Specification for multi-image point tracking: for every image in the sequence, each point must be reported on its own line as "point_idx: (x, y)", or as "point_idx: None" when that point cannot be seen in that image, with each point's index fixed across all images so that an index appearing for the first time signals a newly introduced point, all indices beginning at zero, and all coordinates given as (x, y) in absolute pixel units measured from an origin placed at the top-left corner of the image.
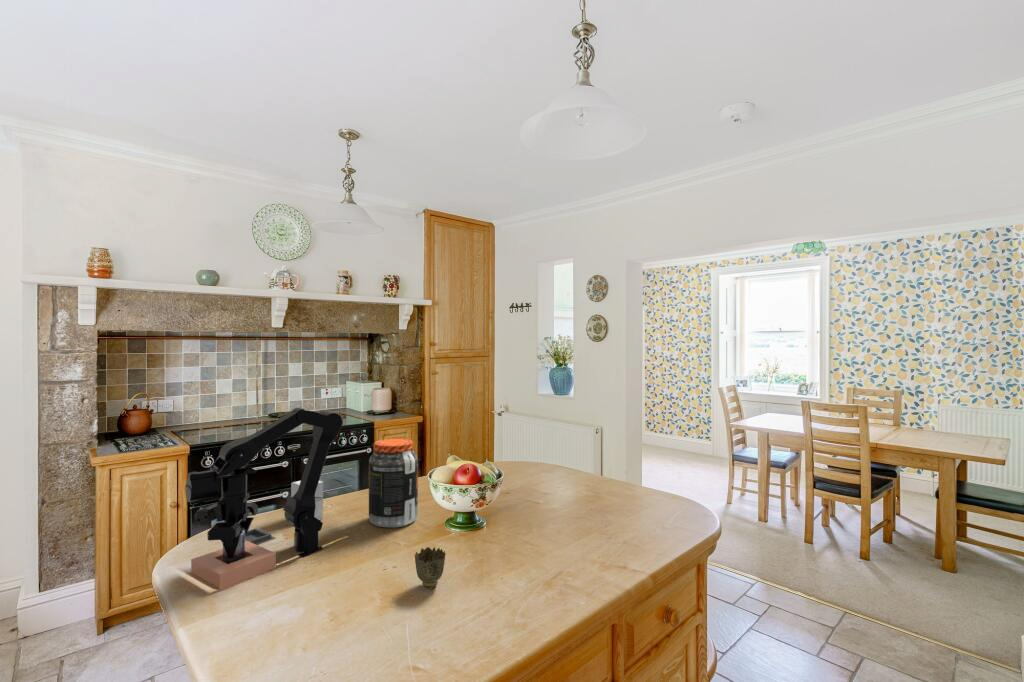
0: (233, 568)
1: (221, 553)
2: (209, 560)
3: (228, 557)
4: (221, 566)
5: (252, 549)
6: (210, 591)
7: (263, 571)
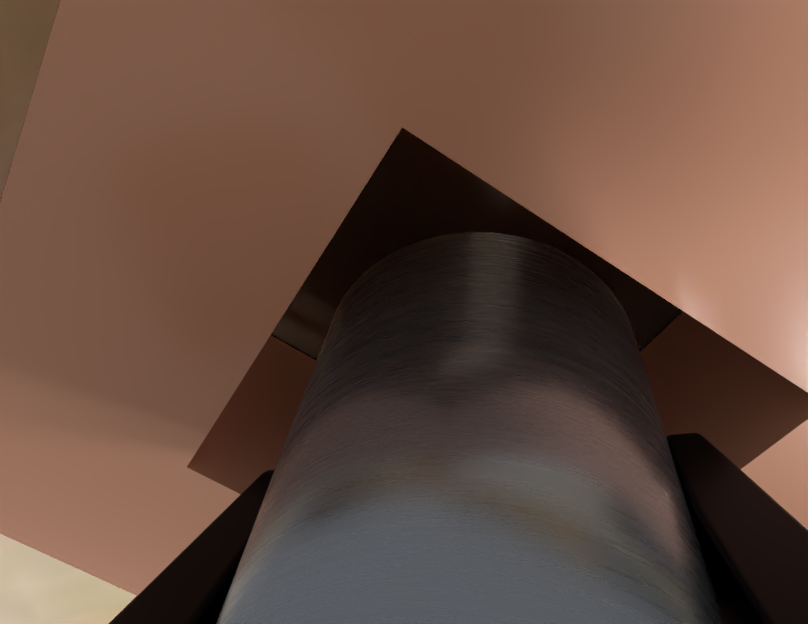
0: (101, 563)
1: (622, 164)
2: (252, 104)
3: (261, 484)
4: (99, 421)
5: None
6: None
7: None
